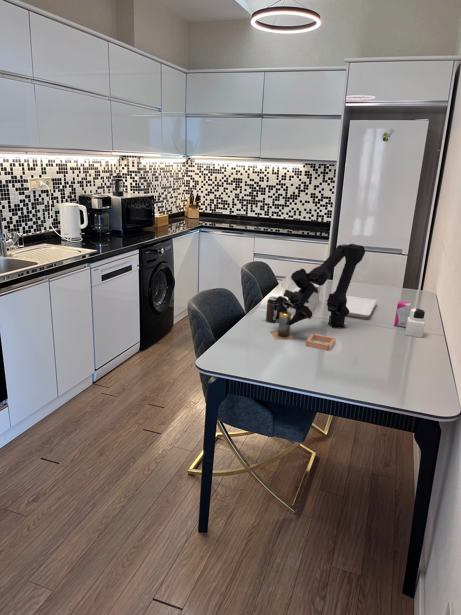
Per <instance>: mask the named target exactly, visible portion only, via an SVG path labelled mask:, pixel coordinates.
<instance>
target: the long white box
mask: <svg viewBox="0 0 461 615" xmlns="http://www.w3.org/2000/svg"><path fill="white" fill-rule="evenodd" d="M310 283H311V282H310ZM314 286H315V287H318V294H317V293H313V294H312V295H311V297H310V298H309V299H308V301H309V303H305V304H304V305H305V306H307V307H309V309H310V310H311V311H312V312H313V311H314V310H315V308H316V306H317V305H318V304H319V303H320V296H321V295H320V294H321V286H319V285H316V284H314ZM299 290H300V288H298V287H297V285H296V287H295V288H294V289H292V290H291V292H295V291H297V292H298V291H299ZM287 300H288V299H287ZM288 301H289V300H288ZM289 302H290V301H289ZM287 310H288V311H287V312H290V313H291V317H293V316H294V315H295V312H296V310H295V309H293V308H291V307H289V308H288V309H287Z"/></svg>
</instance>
